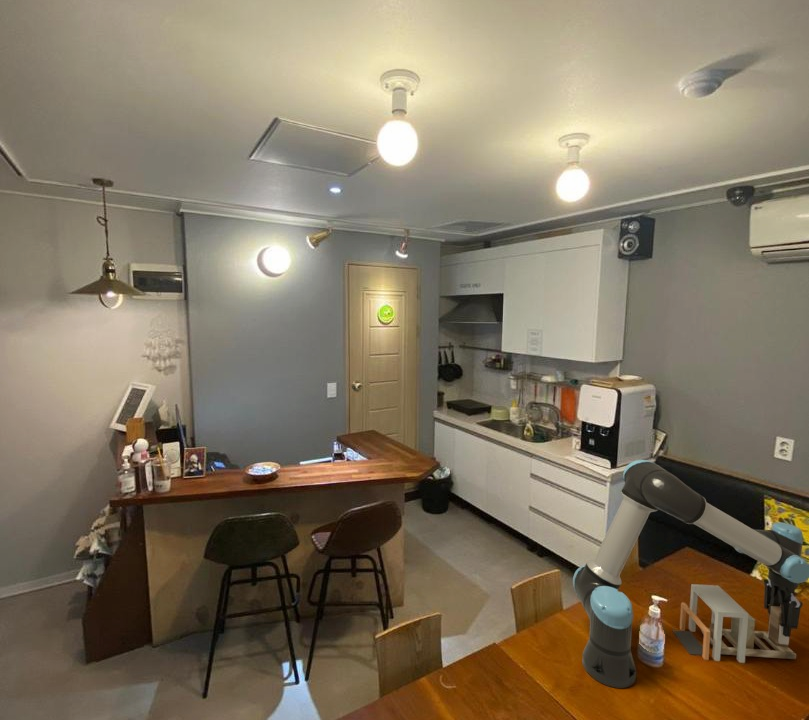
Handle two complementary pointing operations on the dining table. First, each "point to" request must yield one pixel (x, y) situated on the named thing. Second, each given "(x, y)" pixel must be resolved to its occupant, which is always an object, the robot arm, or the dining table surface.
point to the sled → (770, 637)
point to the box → (749, 631)
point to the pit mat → (689, 642)
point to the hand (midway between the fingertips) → (778, 638)
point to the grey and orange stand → (715, 618)
